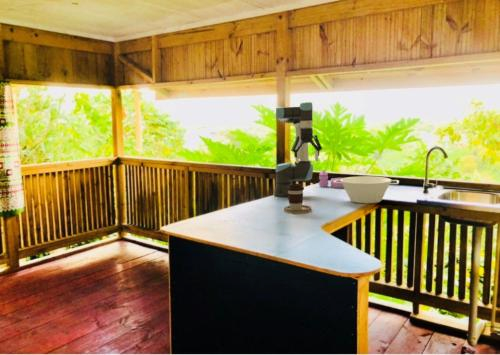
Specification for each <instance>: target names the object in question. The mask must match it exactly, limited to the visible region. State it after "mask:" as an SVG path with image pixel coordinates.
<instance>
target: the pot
mask: <svg viewBox="0 0 500 355" xmlns="http://www.w3.org/2000/svg"><path fill="white" fill-rule="evenodd" d="M342 178H343V179H336V180H335V181H333V183H342V184H343V186H344V188H343V189H344V190H345V192H346V194H347V196H348V198H349V200H350V201H351V202H353V203H355V204H362V203H363V204H365V205H366V204H367V205H369V204H378V203H381V201H382V200H383V198H384V196H385V194H386V192H387V189H388V188H389V186H390V185H399V184H400V180H398V179H391V178H388V177H384V176H370V175H369V176H366V175H365V176H364V175H363V176H348V177H342ZM337 180H340V181H341V182H336V181H337Z"/></svg>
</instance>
